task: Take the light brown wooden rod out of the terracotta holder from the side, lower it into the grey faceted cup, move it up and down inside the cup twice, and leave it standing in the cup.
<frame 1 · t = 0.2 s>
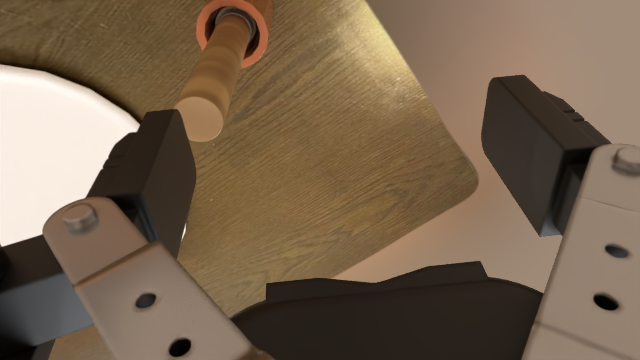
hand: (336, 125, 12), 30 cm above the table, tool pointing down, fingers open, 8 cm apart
plate: (49, 193, 49), on the table
light brown wooden rod: (242, 8, 38), resting on holder
holder: (243, 7, 39), on the table
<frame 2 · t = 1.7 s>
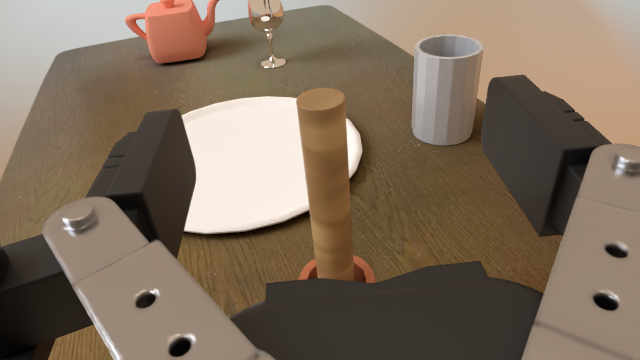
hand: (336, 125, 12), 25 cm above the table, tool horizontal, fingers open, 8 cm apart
wineglass: (273, 64, 81), on the table
teapot: (186, 54, 89), on the table
plate: (244, 159, 57), on the table
light brown wooden rod: (341, 342, 35), resting on holder
grey faceted cup: (441, 130, 59), on the table
holder: (342, 346, 35), on the table
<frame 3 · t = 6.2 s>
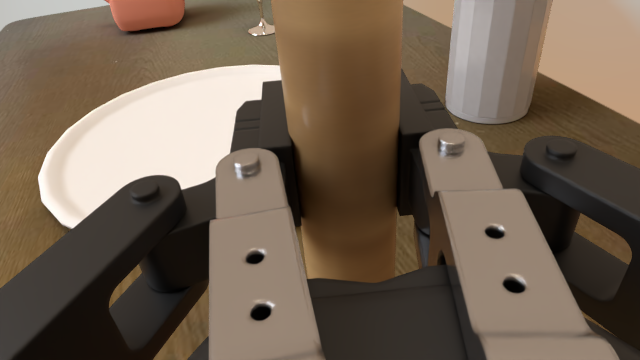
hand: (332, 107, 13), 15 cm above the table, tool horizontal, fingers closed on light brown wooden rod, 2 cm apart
wineglass: (264, 31, 66), on the table
teapot: (159, 22, 73), on the table
plate: (218, 141, 42), on the table
grey faceted cup: (486, 104, 43), on the table
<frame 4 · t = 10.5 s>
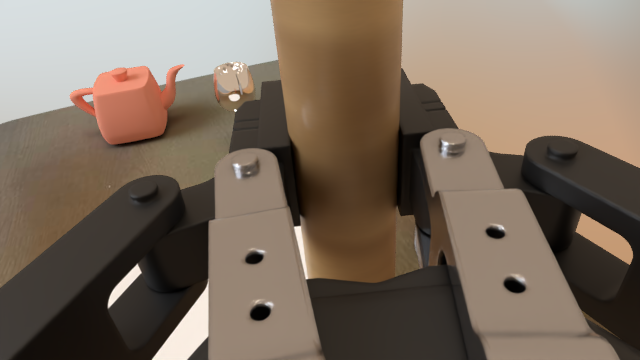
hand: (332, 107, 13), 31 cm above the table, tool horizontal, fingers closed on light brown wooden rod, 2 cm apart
wineglass: (245, 143, 71), on the table
teapot: (144, 128, 78), on the table
plate: (218, 297, 47), on the table
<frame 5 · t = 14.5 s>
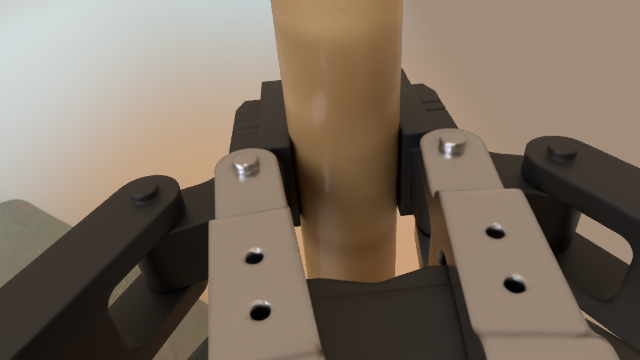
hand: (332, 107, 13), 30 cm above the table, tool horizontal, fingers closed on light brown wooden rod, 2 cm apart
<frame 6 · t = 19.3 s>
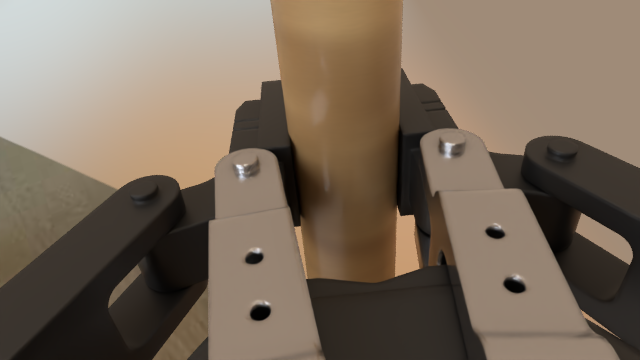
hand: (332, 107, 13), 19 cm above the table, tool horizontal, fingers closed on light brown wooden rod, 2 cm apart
when the fingers open (15 cm above the table, at t = 23.1 s): light brown wooden rod stays where it is, resting on grey faceted cup.
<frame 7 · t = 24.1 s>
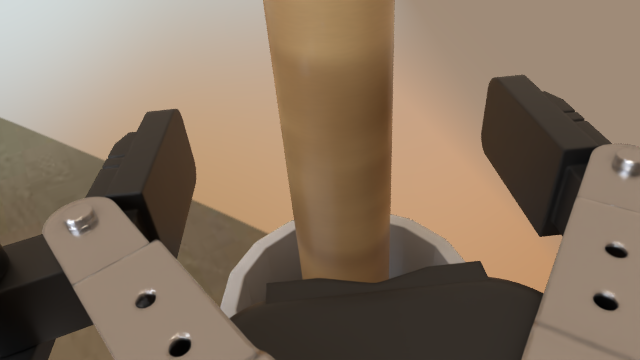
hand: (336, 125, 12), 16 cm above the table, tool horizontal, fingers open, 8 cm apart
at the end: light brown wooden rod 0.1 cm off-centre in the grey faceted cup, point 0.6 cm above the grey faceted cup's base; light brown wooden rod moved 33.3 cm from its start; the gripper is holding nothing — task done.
